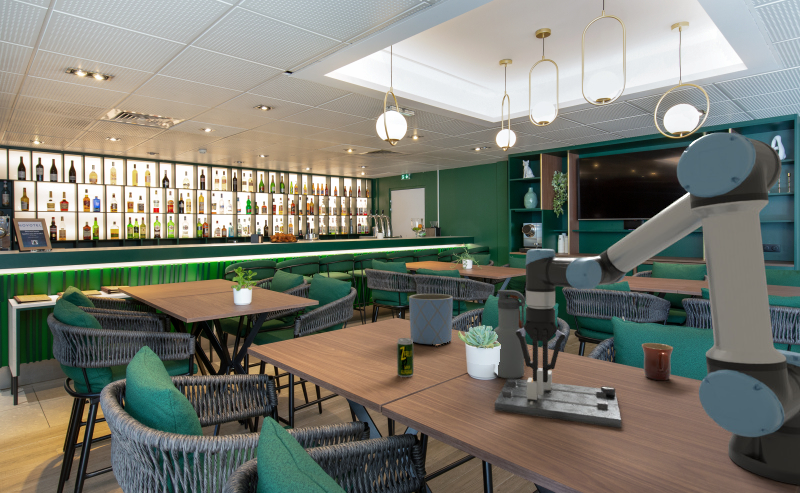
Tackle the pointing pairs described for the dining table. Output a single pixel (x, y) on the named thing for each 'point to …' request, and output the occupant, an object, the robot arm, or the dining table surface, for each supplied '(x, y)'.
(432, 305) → the planter
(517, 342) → the water bottle
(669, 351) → the mug
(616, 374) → the dining table surface
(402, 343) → the beer can
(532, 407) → the console board
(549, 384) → the fader
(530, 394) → the block
